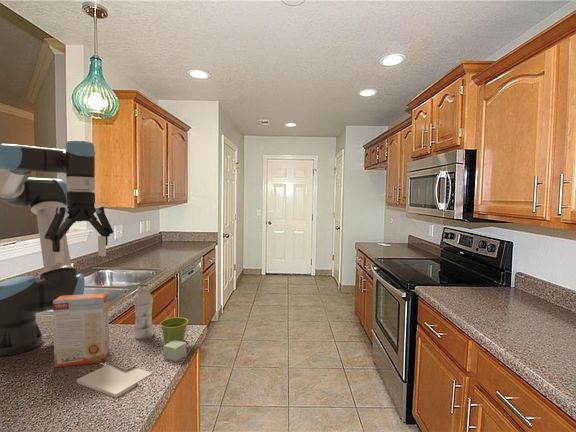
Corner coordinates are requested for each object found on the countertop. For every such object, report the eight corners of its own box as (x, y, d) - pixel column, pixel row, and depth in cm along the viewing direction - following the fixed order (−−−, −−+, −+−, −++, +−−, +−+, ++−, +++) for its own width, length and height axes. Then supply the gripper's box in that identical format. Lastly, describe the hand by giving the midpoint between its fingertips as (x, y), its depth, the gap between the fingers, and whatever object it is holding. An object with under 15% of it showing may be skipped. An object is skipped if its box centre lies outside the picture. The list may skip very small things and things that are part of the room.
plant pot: (193, 346, 118) (193, 321, 117) (168, 355, 111) (168, 329, 110) (179, 338, 124) (179, 315, 124) (155, 346, 117) (155, 322, 117)
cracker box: (109, 354, 111) (109, 292, 110) (104, 363, 105) (103, 297, 104) (62, 358, 108) (60, 294, 107) (53, 367, 102) (52, 299, 101)
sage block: (163, 360, 107) (163, 345, 107) (174, 354, 112) (174, 339, 111) (175, 364, 105) (175, 348, 105) (186, 357, 109) (186, 342, 109)
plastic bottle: (157, 338, 124) (157, 285, 123) (140, 345, 118) (140, 289, 117) (146, 334, 127) (146, 282, 126) (130, 340, 122) (129, 286, 121)
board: (76, 383, 93) (76, 379, 93) (115, 364, 104) (115, 361, 104) (116, 398, 87) (116, 394, 87) (152, 376, 97) (152, 372, 97)
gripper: (45, 190, 91) (46, 267, 92) (124, 192, 113) (124, 254, 115) (28, 189, 94) (30, 264, 95) (109, 192, 117) (109, 252, 118)
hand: (82, 259), depth 105 cm, fingers open, 13 cm apart
